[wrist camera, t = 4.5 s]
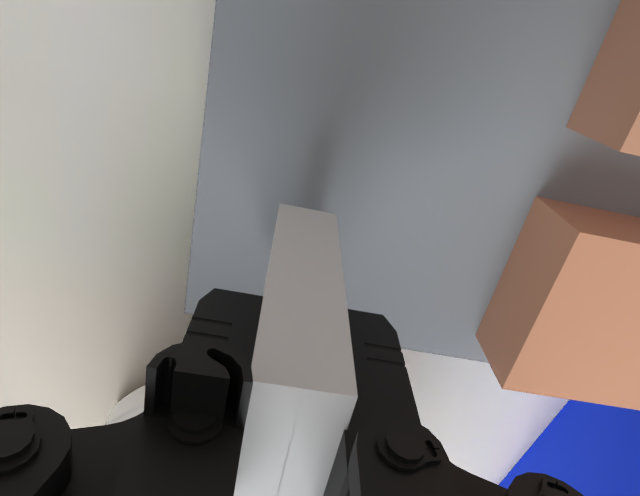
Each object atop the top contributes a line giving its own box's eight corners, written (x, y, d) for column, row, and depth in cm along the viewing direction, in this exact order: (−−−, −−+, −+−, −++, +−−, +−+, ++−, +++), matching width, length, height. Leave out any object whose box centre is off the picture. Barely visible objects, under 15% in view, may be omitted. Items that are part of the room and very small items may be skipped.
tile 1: (475, 335, 16) (502, 388, 14) (535, 196, 14) (579, 232, 11) (612, 358, 16) (660, 413, 14) (692, 228, 14) (763, 268, 12)
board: (200, 274, 17) (184, 312, 15) (257, -224, 11) (244, -282, 9) (732, 366, 20) (785, 411, 18) (1014, -8, 14) (1151, -12, 12)
